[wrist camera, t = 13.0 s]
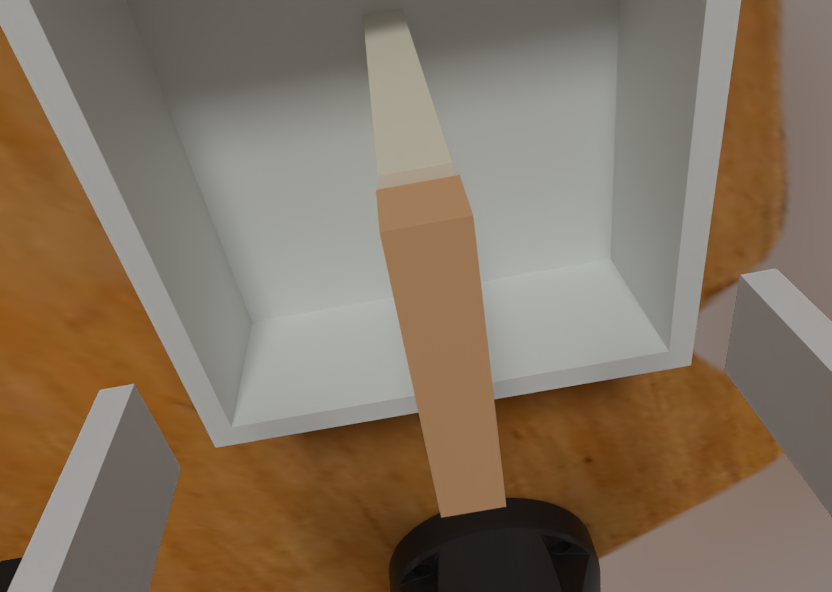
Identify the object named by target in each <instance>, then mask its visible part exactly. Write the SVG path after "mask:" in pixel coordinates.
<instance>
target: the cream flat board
mask: <svg viewBox="0 0 832 592" xmlns="http://www.w3.org/2000/svg"><path fill="white" fill-rule="evenodd" d="M363 21H364V32H365V43H366V54H367V65H368V76H369V87H370V98H371V109H372V120H373V131H374V142H375V153H376V164H377V174H378V180H379V185H380V189H378V190H376V196H377V208H378V220H379V232H380V237H381V241H382V246H383V251H384V255H385V260H386V265H387V269H388V274H389V278H390V283H391V288H392V292H393V297H394V302H395V306H396V311H397V315H398V320H399V325H400V329H401V334H402V339H403V343H404V348H405V353H406V357H407V362H408V366H409V371H410V376H411V380H412V385H413V390H414V394H415V399H416V403H417V408H418V413H419V417H420V422H421V427H422V431H423V436H424V440H425V445H426V450H427V454H428V459H429V464H430V468H431V473H432V478H433V482H434V487H435V491H436V496H437V501H438V505H439V510H440V515H441V518H442V517H448V516H454V515H460V514H466V513H472V512H478V511H483V510H489V509H495V508H501V507H506V499H505V491H504V482H503V473H502V464H501V455H500V447H499V438H498V429H497V420H496V411H495V403H494V394H493V385H492V376H491V367H490V358H489V350H488V341H487V332H486V323H485V314H484V306H483V297H482V288H481V279H480V270H479V262H478V253H477V244H476V235H475V226H474V218H473V213H472V210H471V207H470V204H469V201H468V198H467V195H466V192H465V189H464V186H463V183H462V180H461V177H460V175H456V176H454V171H453V164H452V160H451V157H450V154H449V151H448V148H447V145H446V141H445V138H444V135H443V132H442V129H441V126H440V123H439V120H438V117H437V114H436V111H435V108H434V105H433V102H432V99H431V95H430V92H429V89H428V86H427V83H426V80H425V77H424V74H423V71H422V68H421V65H420V62H419V59H418V56H417V52H416V49H415V46H414V43H413V40H412V37H411V34H410V31H409V28H408V25H407V22H406V19H405V16H404V13H403V10H402V9H401V10H395V11H390V12H384V13H379V14H374V15H368V16H363Z"/></svg>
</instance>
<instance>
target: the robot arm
mask: <svg viewBox="0 0 832 592" xmlns="http://www.w3.org/2000/svg"><path fill="white" fill-rule="evenodd" d="M724 371H725V373H726V374H727V375H728V377H729V378H730V379H731V381H732V382H733V384H734V385H735V386H736V388H737V389H738V390H739V392H740V393H741V394H742V396H743V397H744V398H745V400H746V401H747V403H748V404H749V405H750V407H751V408H752V409H753V411H754V412H755V413H756V415H757V416H758V417H759V419H760V420H761V422H762V423H763V424H764V426H765V427H766V428H767V430H768V431H769V432H770V434H771V435H772V436H773V438H774V439H775V441H776V442H777V443H778V445H779V446H780V447H781V449H782V450H783V451H784V453H785V454H786V455H787V457H788V458H789V460H790V461H791V462H792V464H793V465H794V466H795V468H796V469H797V470H798V472H799V473H800V474H801V476H802V477H803V479H804V480H805V481H806V483H807V484H808V485H809V487H810V488H811V489H812V491H813V492H814V493H815V495H816V496H817V498H818V499H819V500H820V502H821V503H822V504H823V506H824V507H825V508H826V510H827V511H828V512H829V514H830V515H831V517H832V322H831V321H830V320H829V319H828V318H827V317H826V316H825V315H824V314H823V313H822V312H821V311H820V310H819V309H818V308H817V307H816V306H815V305H814V304H813V303H812V302H810V301H809V300H808V299H807V298H806V297H805V296H804V295H803V294H802V293H801V292H800V291H799V290H798V289H797V288H796V287H795V286H794V285H793V284H792V283H791V282H789V280H788V279H787V278H785V277H784V276H783V275H782V274H781V273H780V272H779V271H778V270H777V269H770V270H765V271H759V272H754V273H748V274H742V275H740V279H739V285H738V291H737V297H736V304H735V310H734V315H733V321H732V328H731V334H730V339H729V345H728V352H727V358H726V364H725V370H724ZM180 470H181V467H180V465H179V463H178V461H177V459H176V458H175V456H174V454H173V452H172V450H171V449H170V447H169V445H168V443H167V441H166V440H165V438H164V436H163V434H162V432H161V431H160V429H159V427H158V425H157V423H156V422H155V420H154V418H153V416H152V414H151V413H150V411H149V409H148V407H147V405H146V404H145V402H144V400H143V398H142V396H141V395H140V393H139V391H138V389H137V387H136V386H135V384H130V385H125V386H119V387H114V388H108V389H103V390H99V392H98V395H97V397H96V399H95V401H94V403H93V406H92V408H91V410H90V412H89V414H88V416H87V419H86V421H85V423H84V425H83V427H82V429H81V432H80V434H79V436H78V438H77V440H76V443H75V445H74V447H73V449H72V451H71V453H70V456H69V458H68V460H67V462H66V464H65V467H64V469H63V471H62V473H61V475H60V477H59V480H58V482H57V484H56V486H55V488H54V491H53V493H52V495H51V497H50V499H49V501H48V504H47V506H46V508H45V510H44V512H43V515H42V517H41V519H40V521H39V523H38V525H37V528H36V530H35V532H34V534H33V536H32V539H31V541H30V543H29V545H28V547H27V549H26V552H25V554H24V556H23V557H22V558H16V559H11V560H5V561H1V562H0V592H148V590H149V586H150V582H151V578H152V575H153V571H154V567H155V563H156V560H157V556H158V552H159V548H160V545H161V541H162V537H163V533H164V530H165V526H166V522H167V519H168V515H169V511H170V507H171V504H172V500H173V496H174V492H175V489H176V485H177V481H178V477H179V474H180ZM389 575H390V591H391V592H600V567H599V561H598V557H597V554H596V551H595V548H594V546H593V543H592V540H591V537H590V534H589V532H588V530H587V528H586V526H585V525H584V524H583V523H582V521H581V520H580V519H578V518H577V517H576V516H575V515H573V514H572V513H570V512H569V511H567V510H565V509H563V508H561V507H558V506H556V505H553V504H550V503H546V502H542V501H536V500H530V499H516V498H506V507H501V508H495V509H489V510H483V511H478V512H472V513H466V514H460V515H454V516H448V517H442V518H441V515H440V514H438V515H436V516H434V517H432V518H430V519H428V520H426V521H425V522H423V523H422V524H420V525H419V526H417V527H416V528H415V529H413V530H412V531H411V532H410V533H409V534H407V535H406V536H405V537H404V539H403V540H402V541H401V542H400V543H399V544H398V546H397V547H396V549H395V551H394V553H393V555H392V557H391V561H390V566H389Z"/></svg>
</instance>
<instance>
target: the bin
mask: <svg viewBox="0 0 832 592" xmlns="http://www.w3.org/2000/svg"><path fill="white" fill-rule="evenodd" d="M740 5H741V0H0V26H1V28H2V29H3V31H4V33H5V35H6V37H7V39H8V41H9V43H10V45H11V47H12V49H13V51H14V53H15V55H16V57H17V59H18V61H19V63H20V65H21V67H22V69H23V71H24V73H25V75H26V77H27V79H28V81H29V82H30V84H31V86H32V88H33V90H34V92H35V94H36V96H37V98H38V100H39V102H40V104H41V106H42V108H43V110H44V112H45V114H46V116H47V118H48V120H49V122H50V124H51V126H52V128H53V130H54V132H55V134H56V135H57V137H58V139H59V141H60V143H61V145H62V147H63V149H64V151H65V153H66V155H67V157H68V159H69V161H70V163H71V165H72V167H73V169H74V171H75V173H76V175H77V177H78V179H79V181H80V183H81V185H82V187H83V188H84V190H85V192H86V194H87V196H88V198H89V200H90V202H91V204H92V206H93V208H94V210H95V212H96V214H97V216H98V218H99V220H100V222H101V224H102V226H103V228H104V230H105V232H106V234H107V236H108V238H109V240H110V242H111V243H112V245H113V247H114V249H115V251H116V253H117V255H118V257H119V259H120V261H121V263H122V265H123V267H124V269H125V271H126V273H127V275H128V277H129V279H130V281H131V283H132V285H133V287H134V289H135V291H136V293H137V295H138V296H139V298H140V300H141V302H142V304H143V306H144V308H145V310H146V312H147V314H148V316H149V318H150V320H151V322H152V324H153V326H154V328H155V330H156V332H157V334H158V336H159V338H160V340H161V342H162V344H163V346H164V348H165V349H166V351H167V353H168V355H169V357H170V359H171V361H172V363H173V365H174V367H175V369H176V371H177V373H178V375H179V377H180V379H181V381H182V383H183V385H184V387H185V389H186V391H187V393H188V395H189V397H190V399H191V401H192V402H193V404H194V406H195V408H196V410H197V412H198V414H199V416H200V418H201V420H202V422H203V424H204V426H205V428H206V430H207V432H208V434H209V436H210V438H211V440H212V442H213V444H214V446H215V448H217V447H223V446H228V445H234V444H240V443H246V442H251V441H257V440H263V439H269V438H275V437H280V436H286V435H292V434H298V433H303V432H309V431H315V430H321V429H326V428H332V427H338V426H344V425H350V424H355V423H361V422H367V421H373V420H378V419H384V418H390V417H396V416H401V415H407V414H413V413H418V408H417V403H416V399H415V394H414V390H413V385H412V380H411V376H410V371H409V366H408V362H407V357H406V353H405V348H404V343H403V339H402V334H401V329H400V325H399V320H398V315H397V311H396V306H395V302H394V297H393V292H392V288H391V283H390V278H389V274H388V269H387V265H386V260H385V255H384V251H383V246H382V241H381V237H380V232H379V220H378V208H377V196H376V190H378V189H380V185H379V180H378V174H377V164H376V153H375V142H374V131H373V120H372V109H371V98H370V87H369V76H368V65H367V54H366V43H365V32H364V21H363V16H368V15H374V14H379V13H384V12H390V11H395V10H401V9H402V10H403V13H404V16H405V19H406V22H407V25H408V28H409V31H410V34H411V37H412V40H413V43H414V46H415V49H416V52H417V56H418V59H419V62H420V65H421V68H422V71H423V74H424V77H425V80H426V83H427V86H428V89H429V92H430V95H431V99H432V102H433V105H434V108H435V111H436V114H437V117H438V120H439V123H440V126H441V129H442V132H443V135H444V138H445V141H446V145H447V148H448V151H449V154H450V157H451V160H452V164H453V171H454V176H456V175H460V177H461V180H462V183H463V186H464V189H465V192H466V195H467V198H468V201H469V204H470V207H471V210H472V213H473V218H474V226H475V235H476V244H477V253H478V262H479V270H480V279H481V288H482V297H483V306H484V314H485V323H486V332H487V341H488V350H489V358H490V367H491V376H492V385H493V394H494V399H500V398H505V397H511V396H517V395H523V394H528V393H534V392H540V391H546V390H552V389H557V388H563V387H569V386H575V385H580V384H586V383H592V382H598V381H603V380H609V379H615V378H621V377H627V376H632V375H638V374H644V373H650V372H655V371H661V370H667V369H673V368H678V367H684V366H690V365H691V361H692V354H693V347H694V340H695V332H696V325H697V318H698V311H699V303H700V296H701V289H702V281H703V274H704V267H705V260H706V252H707V245H708V238H709V230H710V223H711V216H712V209H713V201H714V194H715V187H716V179H717V172H718V165H719V158H720V150H721V143H722V136H723V128H724V121H725V114H726V107H727V99H728V92H729V85H730V77H731V70H732V63H733V56H734V48H735V41H736V34H737V27H738V19H739V12H740Z"/></svg>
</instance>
